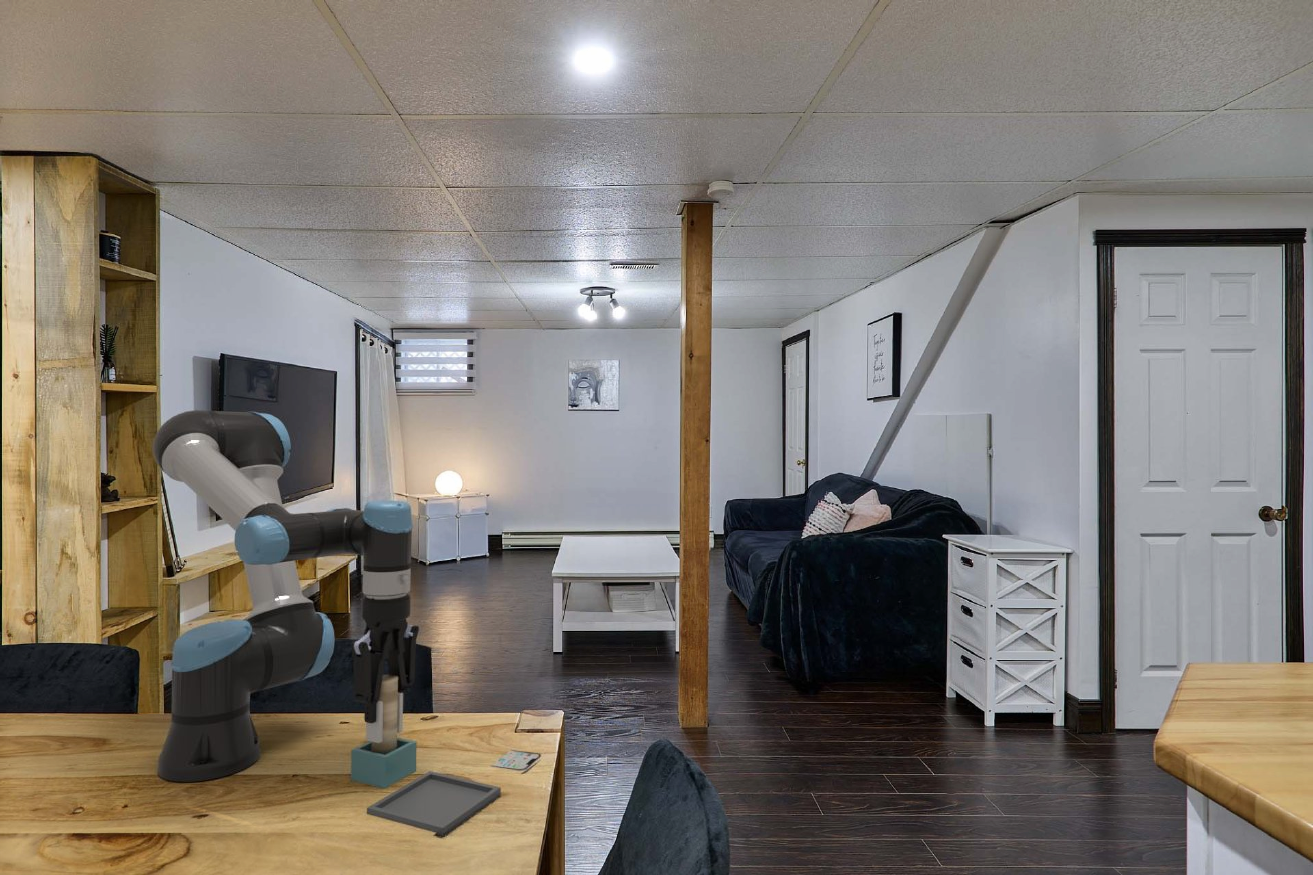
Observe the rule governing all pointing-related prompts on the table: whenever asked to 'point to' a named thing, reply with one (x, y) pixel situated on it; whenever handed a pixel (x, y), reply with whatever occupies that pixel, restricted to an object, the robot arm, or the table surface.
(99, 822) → the table surface
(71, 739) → the table surface
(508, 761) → the smartphone
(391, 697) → the dowel
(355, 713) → the table surface
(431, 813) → the tray
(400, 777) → the teal open box
